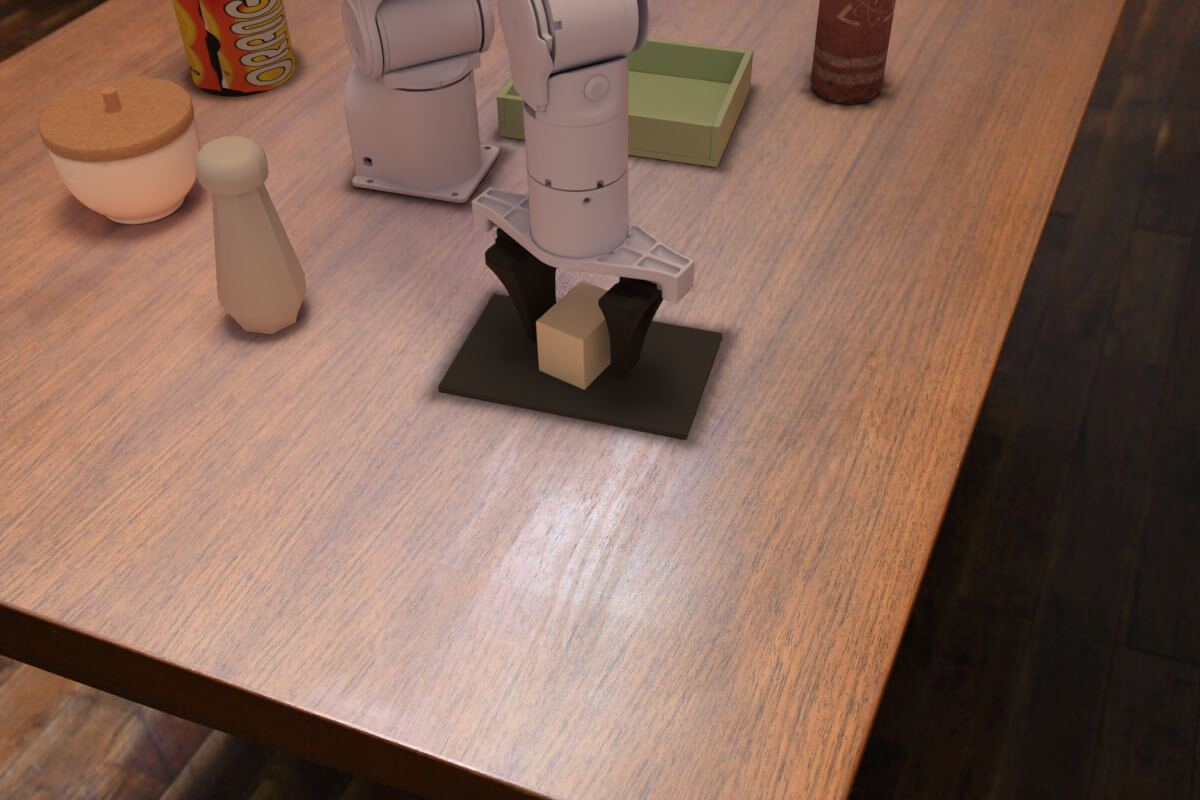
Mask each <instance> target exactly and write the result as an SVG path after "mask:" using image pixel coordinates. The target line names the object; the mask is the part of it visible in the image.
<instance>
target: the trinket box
mask: <svg viewBox="0 0 1200 800" xmlns="http://www.w3.org/2000/svg"><path fill="white" fill-rule="evenodd" d="M37 130H38V134H39V136H40V139H41V141H42V143H43V145H44V147H45V148H46V150H47V152H48V155H49V157H50V159H51V162H52V164H53V166H54V169H55V171H56V173H57V175H58V176H59V178H60V180H61V182H62V183H63V184H64V186H65V187H66V189H67V190H68V191H69V192H70V193H71V194H72V196H74V197H75V199H76V200H77V201H79V202H80V203H81V204H83V205H84V206H85V207H87V208H88V209H89V210H92V211H93V212H96V213H98V214H100V215H102V216H105V217H106V219H108V220H110V221H112V222H114V223H118V224H123V225H141V224H142V225H143V224H148V223H151V222H156V221H159V220H162V219H163V218H167V216H170V215H172V214H173V213H175V212H176V211H178V209H179V208H180V207H181V206H182V205H183V203H184V201H185V198H186V196H187V195H188V193H189V192H190V191H191V189H192V187H193V186H194V185H195V182H196V180H197V175H196V168H195V155H196V154H197V153H198V152H199V150H200V149H201V143H200V135H199V130H198V126H197V121H196V118H195V108H194V105H193V100H192V97H191V96H190V94H189V92H188V91H187V90H186V89H185V88H183V86H180V85H179V84H176V82H172V81H170V80H167V79H162V78H157V77H151V76H125V77H117V78H111V79H104V80H101V81H100V80H99V81H97V82H93V83H90V84H86V85H84V86H80V87H78V88H75V89H74V90H71V91H69V92H67V93H65V94H63V95H61V96H60V97H58V98H57V99H54V101H53V102H51V103H50V104H49V105H48V106H47V107H46V108H45V109H44V110H43V112H42V113H41V115H40V117H39V120H38V123H37Z"/></svg>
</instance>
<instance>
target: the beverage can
mask: <svg viewBox="0 0 1200 800" xmlns="http://www.w3.org/2000/svg"><path fill="white" fill-rule="evenodd" d="M171 1H172V5H173V8H174V13H175V16H176V21H177V25H178V28H179V31H180V36H181V39H182V44H183V47H184V52H185V54H186V59H187V63H188V67H189V71H190V74H191V78H192V81H193V83H194V85H195V86H196V87H197V88H198V89H199V90H201V91H203V92H205V93H208V94H210V95H216V96H221V97H241V96H242V97H243V96H244V97H245V96H252V95H256V94H260V93H264V92H266V91H270V90H272V89H276V88H277V87H279V86H280V85H283V84H284V83H286V82H287V81H288V80H289V79H290V78H292V76H293V75H294V73H295V71H296V60H295V55H294V49H293V44H292V40H291V35H290V30H289V29H290V28H289V23H288V19H287V15H286V9H285V5H284V4H285V3H284V0H171Z"/></svg>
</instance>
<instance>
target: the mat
mask: <svg viewBox="0 0 1200 800" xmlns="http://www.w3.org/2000/svg"><path fill="white" fill-rule="evenodd" d="M722 339H723V333H722V332H718V331H713V330H706V329H701V328H696V327H689V326H684V325H678V324H673V323H668V322H661V321H655V320H652V322H651V324H650V326H649V329H648V332H647V334H646V337H645V340H644V343H643V346H642V350H641V354H640V358H639V362H638V363H637V364H636V365H635V366H634V367H633V368H632V369H631V370H630V371H629V372H628V373H627V375H626V376H625V377H624V378H620V377H618V376H615V375H613V372H612V369H611V363H610V364H609V365H608V366H607V367H606V368H605V369H604V370H603V371H602V373H601V374H600V375H599V376H598V377H597V378H596V379H595V380H594V381H593V382H592V383H591V384H590V385H589V386H588V387H587V388H586V389H585V390H584V389H581V388H579V387H577V386H574V385H572V384H570V383H567V382H565V381H563V380H560V379H558V378H556V377H553V376H551V375H549V374H546V373H544V372H542V371H540V370H539V361H538V345H537V342H534V341H532V340H529V338H528V336H527V333H526V331H525V328H524V326H523V323H522V321H521V318H520V316H519V314H518V311H517V309H516V307H515V305H514V303H513V301H512V299H511V297H510V295H506V294H501V293H496V292H495V293H493V294H492V295H491V297H490V298H489V300H488V302H487V304H486V305H485V307H484V309H483V310H482V311H481V313H480V315H479V317H478V319H477V320H476V322H475V324H474V325H473V327H472V329H471V330H470V332H469V334H468V335H467V337H466V339H465V341H464V342H463V344H462V346H461V348H460V349H459V350H458V352H457V354H456V356H454V357H455V358H454V359H453V360H452V362H451V364H450V366H449V368H448V369H447V371H446V372H445V375H444V376H443V378H442V380H441V381H440V383H439V384H438V385H437V388H438V391H439V392H441V393H448V394H451V395H457V396H462V397H468V398H472V399H478V400H483V401H488V402H493V403H498V404H503V405H509V406H514V407H519V408H524V409H529V410H534V411H539V412H543V413H549V414H555V415H560V416H565V417H569V418H575V419H580V420H586V421H590V422H595V423H601V424H605V425H611V426H616V427H621V428H626V429H630V430H636V431H642V432H646V433H652V434H656V435H662V436H667V437H672V438H677V439H683V440H687V439H688V436H689V433H690V430H691V428H692V424H693V421H694V418H695V416H696V414H697V410H698V407H699V404H700V401H701V398H702V395H703V393H704V390H705V387H706V384H707V382H708V379H709V376H710V374H711V373H710V372H711V370H712V367H713V365H714V361H715V359H716V355H717V353H718V350H719V348H720V344H721V342H722Z"/></svg>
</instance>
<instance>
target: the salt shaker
mask: <svg viewBox="0 0 1200 800" xmlns="http://www.w3.org/2000/svg"><path fill="white" fill-rule="evenodd" d="M268 163H269V162H268V158H267V153H266V152H265V150H264V147H263V145H261V144H260V143H259V142H257V141H256V140H254V139H252V138H251V137H248V136H244V135H241V134H239V135H238V134H237V135H224V136H221V137H216V138H213V139H211V140H210V141H208V142H206V143H205V144H203V146H202V147H200V150H199V152H198V153H197V154H196V155H195V168H196V175H197V177H196V179H197V180H198V183H199V184H200V186H201V188H203V189H204V190H206V192H207V193H209V194H211V207H212V223H213V240H214V257H215V259H214V260H215V273H216V274H215V275H216V277H215V278H216V292H217V301H218V302H219V304H220V306H221V307H222V308H223V309H224V310H225V311H226V313H228V314H229V316H231V318H232V319H233V320H234V321H235V322H236V323H237V324H238V325H239V326H240V327H241V328H242V329H243V331H245V332H246V333H247V332H248V333H255V334H265V335H273V334H275V333H278V332H279V331H281V330H284V329H286V328H288V327H290V326H292V325H294V324H296V322H297V318H298V315H299V312H300V310H301V306H302V304H303V301H304V299H305V296H306V294H307V283H306V276H305V272H304V270H303V267H302V265H301V263H300V261H299V259H298V256H297V255H296V252H295V250H294V247H293V245H292V242H291V241H290V238H289V236H288V234H287V232H286V229H285V227H284V225H283V223H282V220H281V218H280V216H279V214H278V212H277V209H276V207H275V205H274V202H273V200H272V198H271V195H270V193H269V191H268V189H267V187H266V185H265V182H266V180H267V179H268V177H269V164H268Z"/></svg>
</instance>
